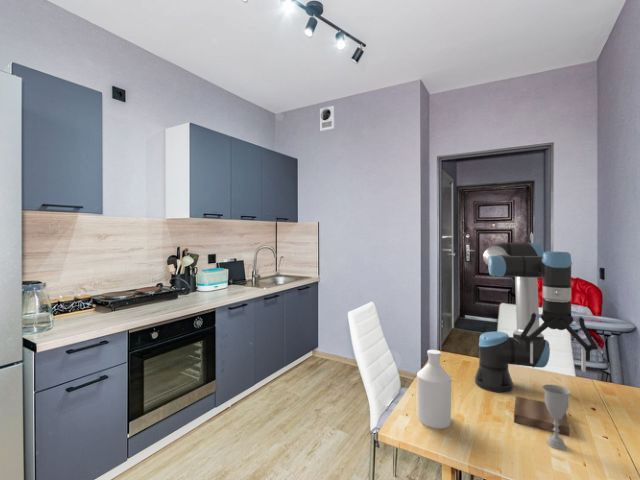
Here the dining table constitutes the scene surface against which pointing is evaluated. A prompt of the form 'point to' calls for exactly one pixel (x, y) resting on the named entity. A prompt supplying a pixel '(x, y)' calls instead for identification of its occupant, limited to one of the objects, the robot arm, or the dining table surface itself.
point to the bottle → (434, 393)
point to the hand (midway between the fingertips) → (556, 366)
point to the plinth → (537, 416)
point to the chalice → (556, 411)
